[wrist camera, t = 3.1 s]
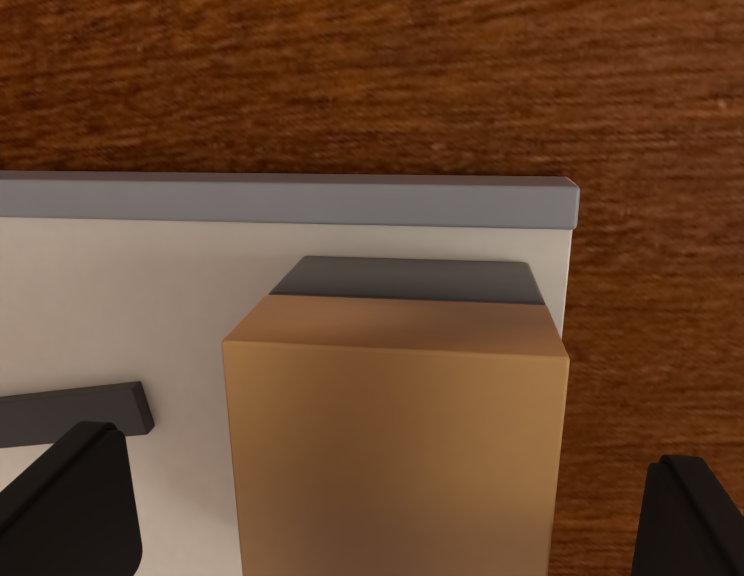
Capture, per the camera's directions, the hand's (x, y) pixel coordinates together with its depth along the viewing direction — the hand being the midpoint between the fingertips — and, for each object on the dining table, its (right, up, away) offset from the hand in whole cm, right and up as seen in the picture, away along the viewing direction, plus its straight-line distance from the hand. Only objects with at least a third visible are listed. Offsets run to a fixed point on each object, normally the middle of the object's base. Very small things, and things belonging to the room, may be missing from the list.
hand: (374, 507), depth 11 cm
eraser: (+1, +1, +2) cm, 3 cm away
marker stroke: (-7, +1, +3) cm, 8 cm away
